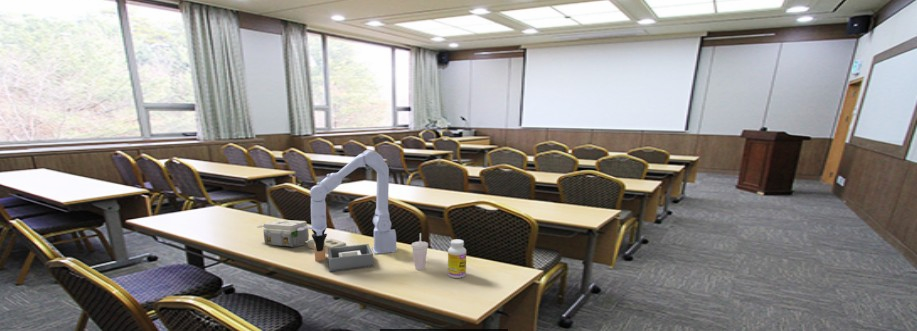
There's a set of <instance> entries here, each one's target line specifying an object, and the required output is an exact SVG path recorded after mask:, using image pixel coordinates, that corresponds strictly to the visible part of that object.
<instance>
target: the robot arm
mask: <svg viewBox="0 0 917 331" xmlns="http://www.w3.org/2000/svg"><path fill="white" fill-rule="evenodd" d="M366 165H367V166H369V167H370V168H372V169H373V170H374V171H375V172H376V200H375V201H376V202H375V203H376V207H375V211H374V215H373V218H372V223H373V225H374V228H373V246H372V247H371V251H372V253H373V255H379V254H386V253H387V254H388V253H395V252H397V233H396V229H391V228H392V221H391V220H390V212H389V182H390V178H389V175H390V168H389V166H388V165H387V163H386V162H385V160H384V158H383V155H381V154H380V153H378V152H377V151H375V150H372V149H366V150H364V151H363V152H362V153H359V154H358V155H357V156H355V157H354V158H352V160H350V161H349V162H348V163H347V164H345V165H344V166H343V167H342V168H340V169H339V171H338V172H331V173H327V174H326V177H325V178H323V179H322V180H321V181H317V183H316V185H313V186H312V187H311V188H310V190H309V196H310V220H311V221H310V222H311V224H310V225H311V226H310V225H308V230H311V231H312V234H311V238H312V240H313V239H314V242H315V245H316V249H317V251H323V247H324V241H325V238H326V237H327V236H328V233H325V232H326V230H327V228H328V225H327V204H326V198H327V195H328V194H330V193H331V192H333V191H335V189H336V188H338V187H339V186H340V185H341V184H342V182H343V179H344V178H345V177H346V176H348V175H349V174H351V173H353V172H354V171H355V170H356V169H358V168H364V167H365V168H366V167H367V166H366ZM326 239H327V238H326Z"/></svg>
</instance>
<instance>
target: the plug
mask: <svg viewBox="0 0 917 331" xmlns="http://www.w3.org/2000/svg"><path fill="white" fill-rule="evenodd" d="M326 255H327V254H326V253H325V243H324V247H323V251H317V249H316V245H315V249H314V261H315V262H319V261H325V260H326Z"/></svg>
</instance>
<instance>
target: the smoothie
mask: <svg viewBox="0 0 917 331" xmlns="http://www.w3.org/2000/svg"><path fill="white" fill-rule="evenodd" d="M411 248H412V254H413V261H414V263H413V264H414V269H415V270H416V271H423V270H425V269H426V264H427V263H426V261H427V254H428V248H429V243H428V242H426V241H422V233H421V232H420V233H419V240H418V241H415V242H412V243H411Z"/></svg>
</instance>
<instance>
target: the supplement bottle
mask: <svg viewBox="0 0 917 331" xmlns="http://www.w3.org/2000/svg"><path fill="white" fill-rule="evenodd" d="M464 241H465V240H463V239H460V238H459V239H457V238H456V239H451V241H450V246H449V248H448V249H447V274H448V277H450V278H454V279H462V278H464V277H465V276H466V275H467V249H466V248H465V242H464ZM461 277H462V278H461Z"/></svg>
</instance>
